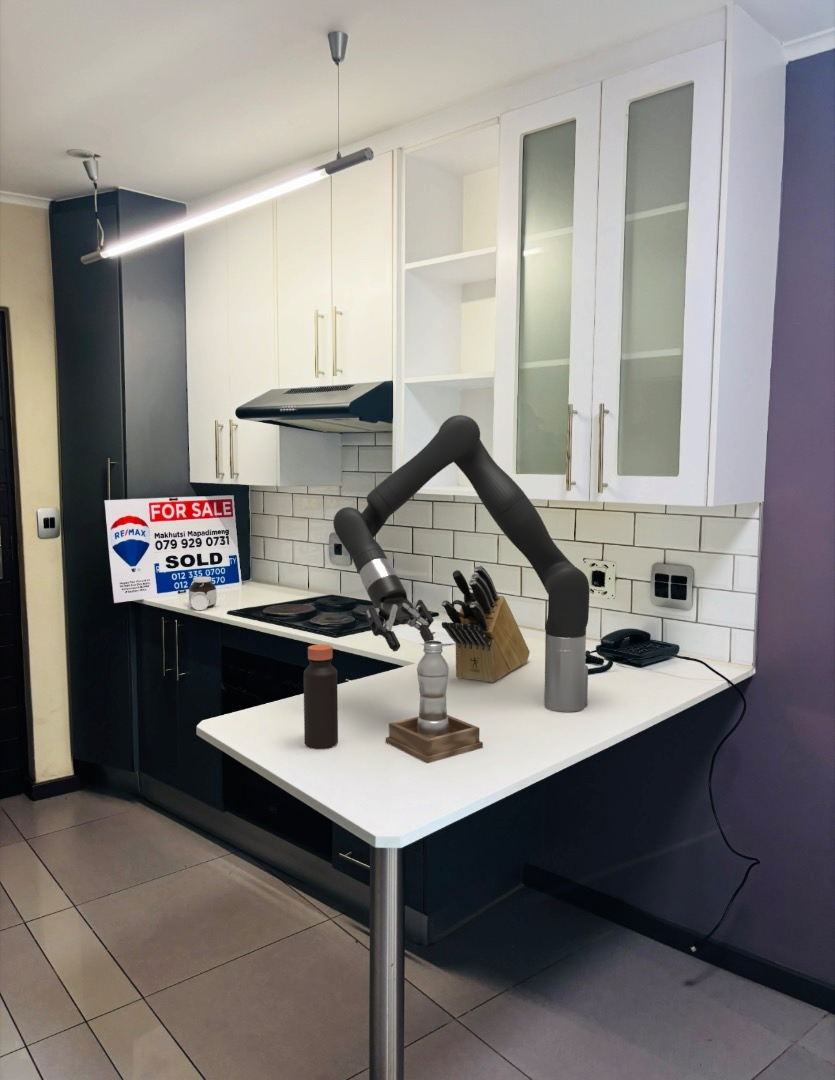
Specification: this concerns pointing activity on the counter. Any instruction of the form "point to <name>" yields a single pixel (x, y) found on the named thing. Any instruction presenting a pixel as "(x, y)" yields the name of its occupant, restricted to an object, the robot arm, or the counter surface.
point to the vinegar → (320, 699)
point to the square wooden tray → (434, 739)
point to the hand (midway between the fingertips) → (414, 646)
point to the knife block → (483, 630)
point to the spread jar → (202, 593)
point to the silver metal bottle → (432, 691)
